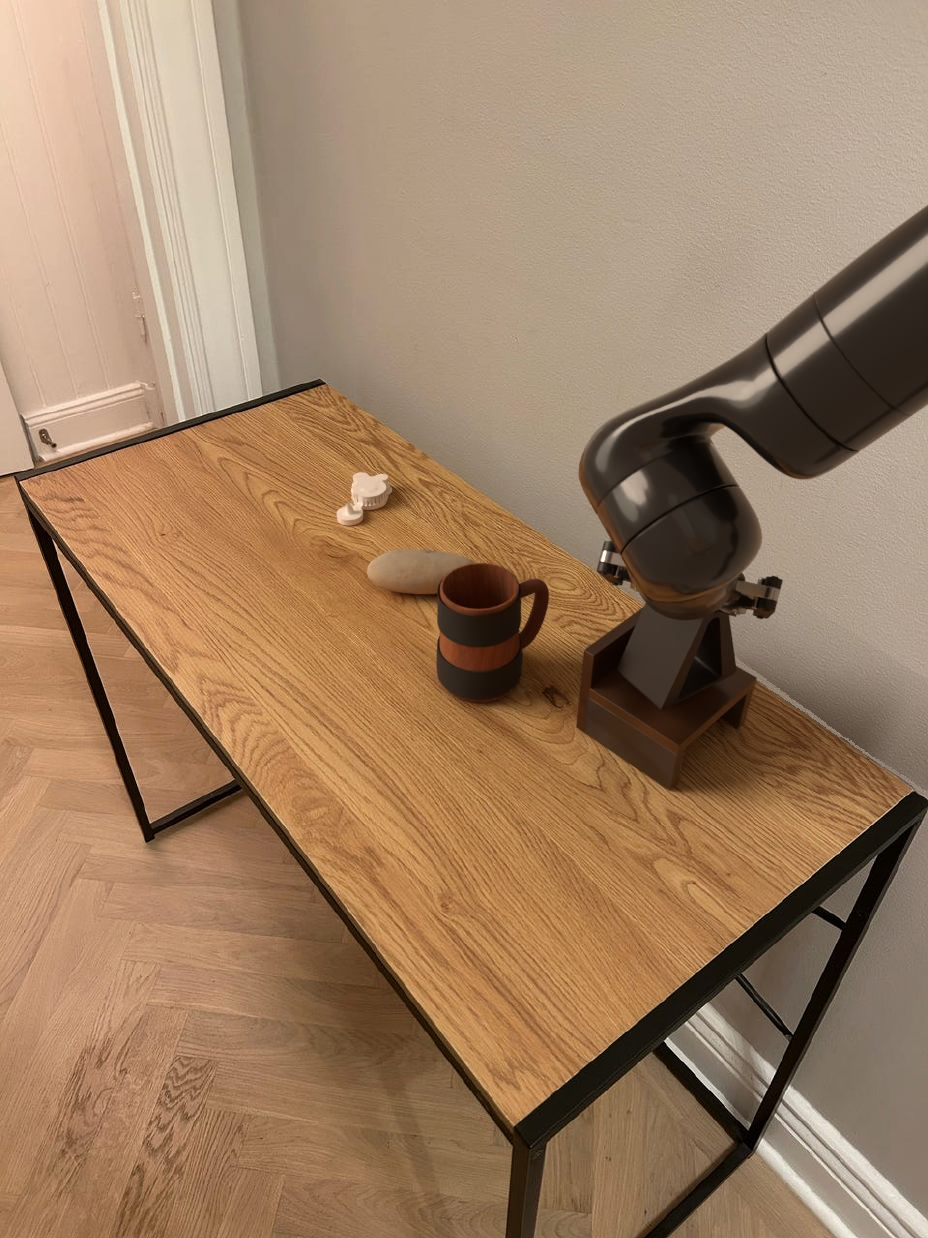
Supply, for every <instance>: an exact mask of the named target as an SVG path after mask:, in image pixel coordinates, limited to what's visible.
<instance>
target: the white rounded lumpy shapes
mask: <svg viewBox="0 0 928 1238" xmlns="http://www.w3.org/2000/svg"><path fill="white" fill-rule="evenodd" d="M389 466H390V467H392V465H391V464H390V465H389ZM392 474H393V473H392V472H391V473H390V475H392ZM352 481H353V482H352V483H351V488H350V492H351V496H350V497H351V501H352V502H353V503H352V502H346V503H345V505H344V506H342V507H340V508H339V509H338V510H337V511H336V521H337V522H338V523H339V524H340V525H343V526H348V527H349V526H355V525H358V524H361V522H362V521H363V520H364V510H365V511H366V510H367V511H372V510H373V511H374V510H377V509H380V508H382V507H384V506H385V505H386V504H387V502H388V499H389V497H390V496H389V495H391V494H392V492H393V488H392V486H391V483H390V482H389V475H387V474H386V473H378V474H376V475H369V474H368V473H367V472H364V471H363V472H361V471H360V472H356V473H354V474H353V476H352ZM353 504H354V505H353Z"/></svg>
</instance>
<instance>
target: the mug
mask: <svg viewBox="0 0 928 1238" xmlns="http://www.w3.org/2000/svg"><path fill="white" fill-rule="evenodd" d="M533 594H534V595H533ZM436 595H437V610H436V611H437V612H436V613H437V614H436V615H437V616H436V624H437V627H438V630H439V635H438V638H437V643H436V675H437V679H438V681H439V683H440V684H441V685H442V687H443V688H444V689H446V691H447V692H449V693H450V695H452V696H454V697H456V698H457V699H460V700H461V701H465V702H470V703H477V704H478V703H482V704H483V703H489V702H494V701H497V700H500V699H503V697H505V696H507V695H508V694H509V693H510V692H511V691H512V690H514V689H515V688H516V687H517V685H518V684H519V682H520V681H521V678H522V674H523V662H524V661H523V659H524V658H523V657H524V655H523V654H524V653H523V650H524V649H526V648H527V647H529V646H530V645H531V644H532V643H533V642H534V641H535V639H536V637H537V636H538V634H539V632H540V630H541V628H542V626H543V624H544V621H545V618H546V616H547V611H548V607H549V601H550V600H549V599H550V591H549V587H548V585H547V584H546V582H545V581H543V580H542V579H539V578H530V579H527V580H525V581H522V582H519V580H518V578H517V577H516V575H515V574H514V573H513V572H512V571H510V570H509V569H507V568H505V567H503V566H500V565H497V564H494V563H489V562H474V563H472V564H466V565H463V566H460V567H457V568H455V569H453V570H452V571H450V572H449V573H447V574H446V575H445V576H444V578H443V579H442V580H441V582H440V583H439V585H438V589H437V594H436ZM531 595H533V602H532V606H531V610H530V613H529V615H528V618H527V620H526V622H525V624H524V626H523V628H522V629H521V628H520V627H521V625H522V599H523V598H526V597H528V596H531ZM520 629H521V631H520Z"/></svg>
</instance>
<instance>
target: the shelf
mask: <svg viewBox="0 0 928 1238" xmlns="http://www.w3.org/2000/svg"><path fill="white" fill-rule="evenodd" d="M643 607H644V606H642V607H641V608H639V609H638V610H637V611H635V612H634V613H632V614H631V615H630V616H628V617H627V618H626V619H625V620H624V621H622V622H620V623H619V624H618V625H616V626H614V627H613V628H611V630H609V631H607V633H605V634H604V635H602V636H601V637H599V638H598V639H597V640H595V641H593V642H592V643H591V644H590V645H589V646H587V647H585V648H584V649H583V655H582V664H581V673H580V675H581V676H580V684H579V695H578V706H577V714H576V715H577V718H576V726H575V727H576V728H577V729H578V730H580V731H581V732H583V733H584V734H586V735H587V736H589V737H590V738H592V739H593V740H594V741H596V742H597V743H598V744H600V745H602V746H603V747H604V748H606V749H607V750H609V751H610V752H612V753H613V754H615V755H616V756H618V757H619V758H620V759H622V760H623V761H625V762H626V763H628V764H629V765H631V766H632V767H634V768H635V769H637V770H638V771H639V772H641V773H642V774H644V775H645V776H647V777H648V778H650V779H651V780H653V781H654V782H655V783H657V784H659V785H660V786H661V787H663V788H664V789H666V790H667V791H669V792H671V791H672V790H673V789H674V788H675V787H676V786H677V785H678V784H679V779H680V774H681V770H682V764H683V760H684V754H685V750H686V748H687V747H688V746H690V745H691V744H692V743H693V742H694V741H696V739H697V738H698V737H699V736H701V735H702V734H703V733H704V732H705V731H706V730H708V729H709V728H710V727H711V726H712V725H713V724H715V723H716V722H717V721H718V720H719V719H721V720H723V721H724V722H726V723H728V724H730V725H731V726H733V727H734V728H736V729H740V728H741V727H742V726H743V725H744V724H745V723H746V720H747V716H748V712H749V708H750V705H751V702H752V697H753V694H754V691H755V690H754V689H755V687H756V683H757V679H758V677H757V676H755V675H753V674H751V673H750V672H748V671H746V670H744V669H743V668H741V667H739V666H738V665H736V669H737V670H736V672H735V674H733V675H732V676H730V677H728V678H726V679H724V680H722V681H720V682H718V683H716V684H714V685H712V686H710V687H709V688H707V689H705V690H703V691H701V692H700V691H698V693H697V694H695V695H693V696H691V697H689V698H687V699H685V700H683V701H681V702H680V703H678V704H676V705H674V706H672V707H670V708H668V709H666V710H664V711H661V710H660V709H659V708H658V707H657V706H656V705H654V704H653V703H652V702H651V701H650V700H649V699H648V698H647V697H645V696H644V695H643V694H642V693H641V692H640V691H639V690H638V689H636V688H635V687H634V686H633V685H632V684H631V683H630V682H629V681H627V680H626V679H625V678H624V677H623V676H622V675H621V674H620V673H618V672H617V668H618V665H619V663H620V661H621V658H622V656H623V654H624V651H625V649H626V647H627V644H628V642H629V640H630V637H631V635H632V633H633V631H634V628H635V626H636V624H637V621H638V619H639V617H640V614H641V612H642V610H643Z"/></svg>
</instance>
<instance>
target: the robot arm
mask: <svg viewBox="0 0 928 1238" xmlns="http://www.w3.org/2000/svg"><path fill="white" fill-rule="evenodd" d="M927 406H928V204H926V205H924V207H922V208H920V210H917V212H915V213H914V214H912V215H911V216H909V217H908V218H907V219H906V220H904V221H903V222H902V223H900V224H899V225H898V226H896V227H895V228H893V229H892V230H891V231H889V232H888V233H887V234H886V235H884V236H882V237H881V238H880V239H879V240H878V241H876V242H875V243H874V244H872V245H871V246H870V247H868V248H867V249H866V250H864V251H863V252H862V253H860V254H859V255H858V256H857V257H855V258H854V259H853V260H852V261H850V262H849V263H848V264H847V265H845V266H844V267H843V268H842V269H840V270H839V271H838V272H837V273H835V274H834V275H832V276H831V277H830V278H829V279H828V280H827V281H826V282H824V283H823V284H822V285H821V286H820V287H818V288H817V290H815V291H814V292H812V293H811V294H809V296H808V297H806V298H805V299H804V300H803V301H802V302H801V303H799V304H798V305H797V306H796V307H795V308H793V309H792V310H790V311H789V313H787V314H786V315H785V316H784V317H783V318H781V319H780V320H779V321H777V322H776V323H775V324H774V325H773V326H772V327H770V329H769V330H768V331H767V332H765V333H764V334H762V335H761V336H760V337H759V338H758V339H757V340H755V341H754V342H753V343H751V344H750V345H749V346H747V347H746V348H744V349H743V350H741V351H740V352H739V353H737V354H735V355H734V356H733V357H731V358H729V359H727V360H726V361H724V362H722V363H721V364H719V365H717V366H715V367H714V368H712V369H710V370H709V371H707V372H704V373H703V374H702V375H699V376H698V377H696V378H694V379H692V380H689V381H688V382H686V383H684V384H682V385H681V386H678V387H676V388H674V389H671V390H670V391H667V392H666V393H663V394H661V395H658V396H656V397H653V398H651V399H649V400H646V401H644V402H642V403H640V404H637V405H635V406H633V407H631V408H628V409H626V410H624V411H622V412H620V413H618V414H617V415H615V416H613V417H611V418H609V419H608V420H607V421H605V422H604V423H603V424H601V425H600V426H599V427H598V428H597V429H596V430H595V431H594V432H593V434H592V435H591V436H590V438H589V439H588V441H587V443H586V444H585V446H584V449H583V451H582V453H581V456H580V459H579V463H578V473H577V474H578V479H579V483H580V486H581V488H582V491H583V493H584V495H585V497H586V499H587V500H588V502H589V504H590V506H591V507H592V509H593V511H594V512H595V514H596V515H597V517H598V519H599V521H600V522H601V524H602V526H603V528H604V530H605V532H606V533H607V535H608V537H609V539H610V540H608V541H607V540H604V541H603V545H602V548H601V552H600V555H599V559H598V564H597V566H596V567H597V568H596V572H597V574H598V575H600V576H601V577H602V578H603V579H604V580H606V582H608V584H609V583H610V584H611V585H612V586H616V587H618V586H623V584H624V582H628V583H630V585H629V589H631V590H633V591H634V592H637V593H638V594H639V596H640V597H641V598H642V600H643V601H644V602H645V603H647V605H648V606H650V607H651V608H652V609H653V610H654V611H656V612H657V613H659V614H661V615H663V616H665V617H668V618H671V619H676V620H695V619H699V618H703V617H705V616H708V615H710V614H712V613H713V612H715V611H717V612H724V613H729V617H734V618H737V616H741V615H745V614H747V610H751V611H752V616H754V617H756V619H759V620H763V619H767V620H768V619H769V618H771V616H772V615H774V613H775V612H776V610H777V605H778V601H779V597H780V594H781V590H782V586H783V581H784V580H783V579H782V578H779V576H775V575H771V576H766V577H761V576H760V577H758V580H757V583H755V582H750V581H746V576H745V574H744V573H743V572H744V571H746V570H747V568H749V566H751V564H752V563H753V561H754V560H755V559H756V557H757V556H758V554H759V551H760V550H761V547H762V545H763V532H762V527H761V524H760V521H759V517H758V516H757V513H756V511H755V509H754V507H753V505H752V504H751V502H750V500H749V498H748V497H747V496H746V494H745V492H744V491H743V489H742V488H741V487H740V484H739V482H738V480H736V478H735V476H734V474H733V473H732V471H731V470H730V468H729V466H728V464H727V463H726V462H725V460H724V458H723V457H722V455H721V454H720V452H719V451H718V448H717V447H716V445H715V444H714V442H713V439H712V437H714V435H715V434H716V433H718V432H719V431H721V430H722V429H724V428H727V429H729V430H730V431H732V432H733V433H734V434H735V435H736V436H738V437H739V438H740V439H742V441H744V442H745V443H746V444H747V445H748V446H749V447H750V448H751V449H752V450H753V451H754V452H755V453H756V454H757V455H758V456H759V457H760V458H762V460H764V461H765V462H766V463H767V464H769V465H770V466H771V467H773V469H775V470H776V471H778V472H780V473H781V474H783V475H785V476H787V477H788V478H791V479H795V480H798V481H799V480H804V481H806V480H808V481H809V480H812V479H813V480H814V479H817V478H820V477H822V476H823V475H825V474H828V473H829V472H831V471H833V470H834V469H836V468H838V467H839V466H840V465H842V464H844V463H846V462H847V461H849V460H850V459H851V458H852V457H855V455H857V454H858V453H860V452H861V451H862V450H864V449H866V448H868V447H869V446H870V445H872V444H873V443H875V442H876V441H878V440H879V439H881V438H882V437H884V436H885V435H886V434H888V433H890V432H891V431H892V430H893V429H895V428H896V427H898V426H899V425H901V424H902V423H904V422H905V421H906V420H908V419H910V418H911V417H913V416H914V415H915V414H917V413H918V412H919V411H921V410H922V409H924V408H925V407H927Z"/></svg>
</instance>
